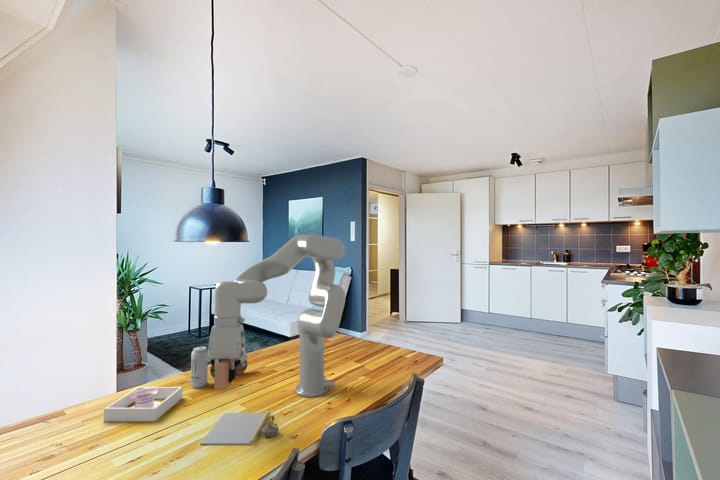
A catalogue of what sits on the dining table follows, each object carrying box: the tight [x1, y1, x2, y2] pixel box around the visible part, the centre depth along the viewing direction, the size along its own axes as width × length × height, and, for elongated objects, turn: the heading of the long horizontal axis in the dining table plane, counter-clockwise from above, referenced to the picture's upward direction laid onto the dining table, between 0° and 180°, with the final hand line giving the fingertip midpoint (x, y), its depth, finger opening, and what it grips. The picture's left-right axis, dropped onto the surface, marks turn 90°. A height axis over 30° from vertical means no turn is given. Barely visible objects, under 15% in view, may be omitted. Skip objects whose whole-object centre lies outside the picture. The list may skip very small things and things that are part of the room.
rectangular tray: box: [103, 386, 183, 422], centre depth 110 cm, size 16×16×4 cm
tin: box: [209, 356, 248, 379], centre depth 140 cm, size 15×3×8 cm, turn 122°
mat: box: [200, 410, 270, 446], centre depth 99 cm, size 15×17×1 cm
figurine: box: [260, 415, 280, 439], centre depth 96 cm, size 5×4×6 cm
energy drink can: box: [190, 346, 209, 389], centre depth 130 cm, size 6×6×15 cm
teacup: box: [129, 388, 162, 408], centre depth 109 cm, size 12×12×6 cm
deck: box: [214, 359, 231, 390], centre depth 100 cm, size 3×9×7 cm, turn 0°
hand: (225, 380), depth 100 cm, fingers closed on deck, 3 cm apart
